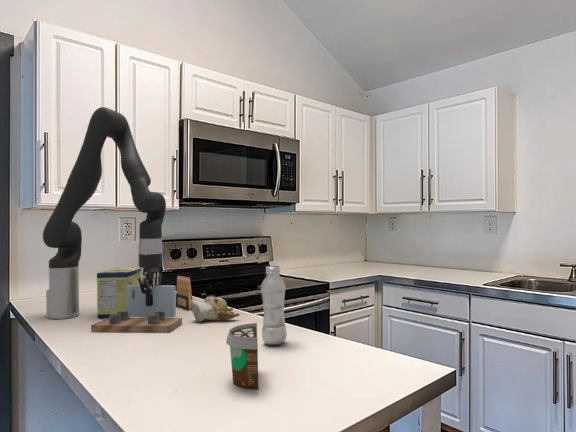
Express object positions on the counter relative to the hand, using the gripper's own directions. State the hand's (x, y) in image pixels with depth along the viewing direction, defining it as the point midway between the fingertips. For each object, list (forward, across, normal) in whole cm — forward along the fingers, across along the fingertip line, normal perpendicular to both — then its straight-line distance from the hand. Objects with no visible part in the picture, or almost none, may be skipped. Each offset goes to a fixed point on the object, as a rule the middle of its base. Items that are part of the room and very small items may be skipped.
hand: (150, 304), depth 137 cm
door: (+4, 0, 0) cm, 4 cm away
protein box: (+6, -10, -16) cm, 19 cm away
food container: (+5, +50, +41) cm, 65 cm away
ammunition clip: (+5, -19, +4) cm, 20 cm away
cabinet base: (+5, +10, 0) cm, 11 cm away
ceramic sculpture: (+5, -1, +21) cm, 22 cm away
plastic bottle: (+5, +25, +44) cm, 51 cm away
